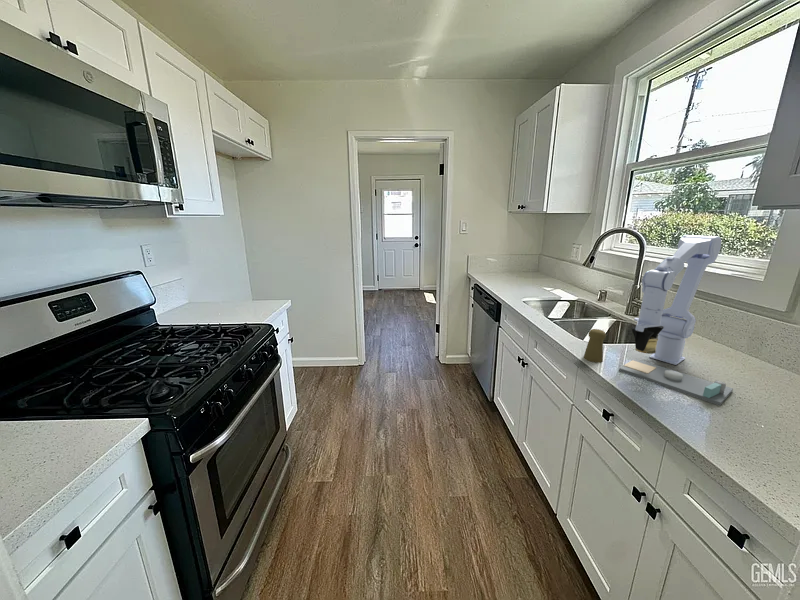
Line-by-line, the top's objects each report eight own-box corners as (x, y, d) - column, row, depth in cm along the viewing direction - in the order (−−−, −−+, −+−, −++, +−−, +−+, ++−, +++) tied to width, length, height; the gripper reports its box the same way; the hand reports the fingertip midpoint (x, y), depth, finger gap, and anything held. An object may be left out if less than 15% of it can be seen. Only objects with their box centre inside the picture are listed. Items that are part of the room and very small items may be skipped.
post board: (635, 361, 117) (636, 354, 116) (732, 391, 97) (734, 383, 96) (618, 370, 110) (620, 363, 109) (719, 405, 90) (722, 397, 89)
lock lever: (714, 388, 96) (716, 380, 96) (725, 392, 94) (727, 383, 94) (700, 394, 93) (702, 386, 92) (711, 399, 91) (713, 390, 90)
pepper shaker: (601, 364, 114) (606, 334, 112) (582, 359, 118) (586, 330, 115) (603, 358, 119) (608, 329, 116) (584, 354, 123) (589, 326, 120)
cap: (638, 347, 112) (640, 334, 111) (659, 351, 107) (660, 338, 107) (631, 350, 109) (632, 337, 108) (652, 355, 104) (654, 341, 103)
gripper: (646, 302, 112) (638, 339, 116) (628, 308, 104) (620, 348, 108) (671, 306, 107) (663, 345, 110) (654, 314, 99) (645, 356, 102)
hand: (643, 347), depth 108 cm, fingers closed on cap, 6 cm apart
